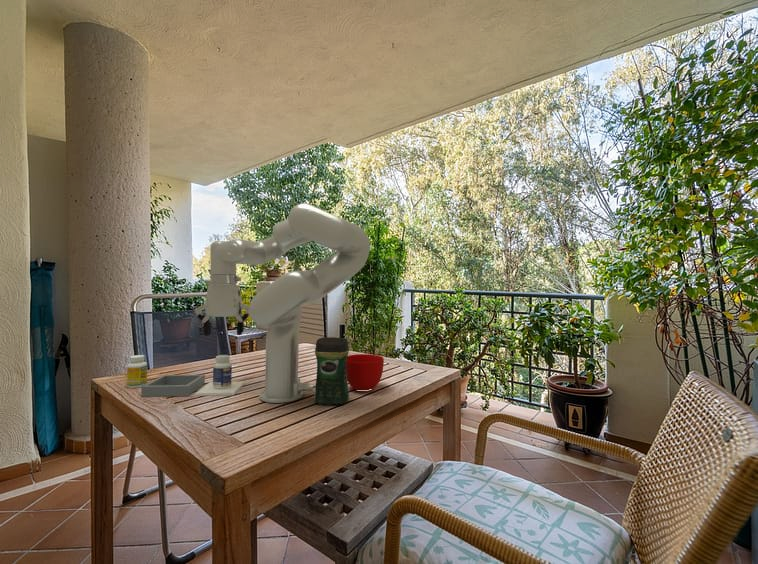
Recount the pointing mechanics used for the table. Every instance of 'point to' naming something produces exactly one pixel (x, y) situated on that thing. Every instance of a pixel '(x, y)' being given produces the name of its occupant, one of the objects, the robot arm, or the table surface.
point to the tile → (210, 391)
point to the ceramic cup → (364, 370)
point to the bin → (173, 385)
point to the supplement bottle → (136, 372)
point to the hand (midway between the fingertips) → (223, 334)
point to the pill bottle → (222, 372)
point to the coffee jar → (331, 371)
